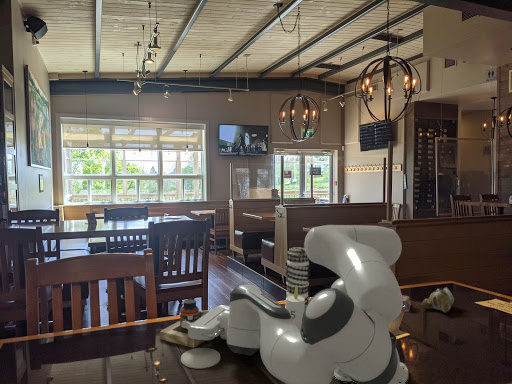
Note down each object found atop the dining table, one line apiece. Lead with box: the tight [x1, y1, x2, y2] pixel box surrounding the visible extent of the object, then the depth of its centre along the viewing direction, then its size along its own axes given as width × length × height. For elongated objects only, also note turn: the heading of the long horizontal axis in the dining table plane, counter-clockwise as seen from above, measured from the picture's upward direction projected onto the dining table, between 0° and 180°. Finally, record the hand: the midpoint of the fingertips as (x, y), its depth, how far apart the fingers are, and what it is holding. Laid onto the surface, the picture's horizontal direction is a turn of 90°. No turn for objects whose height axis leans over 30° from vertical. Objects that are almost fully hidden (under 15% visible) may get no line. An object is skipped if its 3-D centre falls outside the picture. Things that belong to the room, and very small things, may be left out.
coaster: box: [180, 347, 221, 370], centre depth 110 cm, size 11×11×1 cm
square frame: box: [159, 320, 206, 349], centre depth 125 cm, size 13×13×2 cm
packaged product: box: [401, 294, 412, 313], centre depth 158 cm, size 18×5×10 cm
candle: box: [285, 285, 305, 330], centre depth 131 cm, size 6×6×15 cm
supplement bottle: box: [179, 298, 200, 334], centre depth 125 cm, size 6×6×11 cm
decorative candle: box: [284, 246, 311, 310], centre depth 145 cm, size 9×9×25 cm
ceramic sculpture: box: [419, 286, 455, 314], centre depth 154 cm, size 11×9×15 cm
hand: (190, 318), depth 124 cm, fingers open, 8 cm apart
